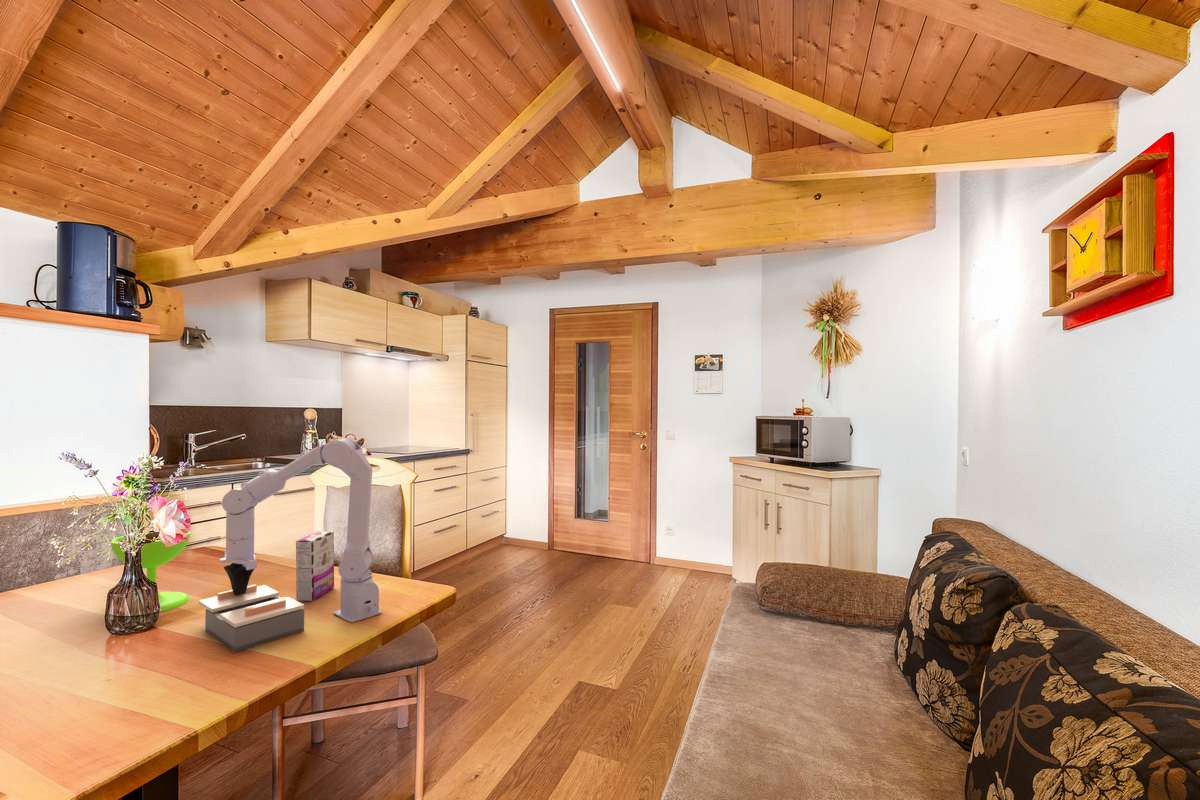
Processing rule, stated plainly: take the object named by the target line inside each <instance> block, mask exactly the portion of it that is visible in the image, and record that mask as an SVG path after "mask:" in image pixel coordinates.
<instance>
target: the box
mask: <svg viewBox="0 0 1200 800" xmlns="http://www.w3.org/2000/svg"><path fill="white" fill-rule="evenodd" d="M279 598H281V597H280V596H275V597H271V598H267V599H263V600H259V601H256V602H252V603H248V604H244V605H240V606H236V607H232V608H228V609H224V610H220V611H216V612H210V611H209V610H207V609H206V608H205V619H204V620H205V621H204V622H205V623H204V624H205V626H204V627H205V628H204V629H205V630H204V631H205V632H206V633H207V634H208V635H210V636H211V637H212V638H214V639H215V640H216V641H218V642H219V643H221V644H222V645H223V646H225V647H226V648H227V649H229V650H230V651H231V652H233V653H234V654H236V653H239V652H243V651H245V650H249V649H252V648H255V647H259V646H261V645H264V644H267V643H270V642H274V641H277V640H280V639H283V638H287V637H289V636H292V635H296V634H300V633H303V632H305V608H303V609H299V610H296V611H292V612H289V613H285V614H281V615H278V616H274V617H271V618H267V619H264V620H260V621H257V622H253V623H250V624H246V625H243V626H239V627H233V626H232V625H230V624H229V623H227V622H226V621H224V620H223V619H221V618H220V614H222V613H225V612H229V611H233V610H237V609H241V608H245V607H249V606H252V605H256V604H260V603H264V602H268V601H272V600H276V599H279Z"/></svg>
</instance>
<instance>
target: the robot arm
mask: <svg viewBox="0 0 1200 800" xmlns="http://www.w3.org/2000/svg"><path fill="white" fill-rule="evenodd" d="M325 464H328V466H332V467H334V468H336V469H339V470H341V471H342V472H343V473H344V474H345V475H347V476H348V477H349V478H350V482H349V483H350V484H349V498H348V499H349V500H348V512H347V513H348V514H347V515H348V516H347V533H346V543H345V546H344V549H343V556H342V559H341V561H340V563H339V564H338V574H339V576H340V602H339V603H340V604H339V605H340V609H338V610H334V611H333V612H332V613H333V614H334V615H335V616H337V617H340V618H341V619H343V620H345V621H347V622H350V623H355V622H358V621H361V620H364V619H367V618H371V617H373V616H376V615H380V614H383V610H381V609H380V604H379V603H380V599H379V598H380V588H379V586H378V585H377V584H376V583H375V582H374V580H373V572H372V570H371V569H370V567H371V566H372V564H373V562H374V554H373V552H372V549H371V541H370V538H369V532H370V518H371V517H370V514H371V498H372V496H371V495H372V483H373V468H372V465H371V464H370V462H369V461H368V459H367V457H366V455H365V454H364V452H363V449H362V446H361V445H359V444H358V443H357V442H355V441H354V440H352V439H351V438H347V437H343V438H339V439H334V440H333V439H332V440H330V441H328V442H327V443H325V444H322V445H319V446H317V447H315V448H312V449H310V450H309V451H308V452H305V453H304V454H302V455H301V456H299V457H297V458H296V459H294V460H293V461H292V462H289V463H288V464H286V465H285V466H283V467H282V468H280V469H279V470H277V469H270V468H269V469H268V470H266V469H264V470H261V471H259V472H258V476H256V477H254V478H252V479H251V480H248V481H243V482H241V483H240V487H239V488H233V489H230V490H229V491H228V492H226V494H224V495H223V497H222V501H221V505H222V509H223V511H225V513H226V514H225V515H226V517H225V518H226V520H225V551H224V552H223V553H224V554H223V555H224V557H223V558H220V559H219V562H220V563H221V564H224V563H230V564H228V565H225V566H223V569H224V571H225V573H226V574H227V576H228V578H229V582H230V585H231V590H233V593H234V595H236V596H237V595H241V594H245V593H246V590H247V586H249V582H250V579H251V576H252V574H253V572H254V571H255V569H257V563H258V562H257V561H258V560H257V559H256V553H255V508H256V506H257V505H258V504H260V503H261V502H263V501H265V500H267V499H268V498H270V497H271V496H274V495H275V494H277V493H278V492H280V491H282V490H283V489H284V488H285V487H286V483H287V481H288V480H290V479H291V478H294V477H295V476H298V475H299V474H301V473H303V472H304V471H306V470H308V469H309V468H310V469H311V468H312V467H314V466H315V465H316V466H318V465H320V466H321V465H322V466H323V465H325Z"/></svg>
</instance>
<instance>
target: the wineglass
mask: <svg viewBox="0 0 1200 800" xmlns="http://www.w3.org/2000/svg"><path fill="white" fill-rule="evenodd" d="M188 531H189V532H188V535H187V539H186V540H185V541H181V542H179V543H178V544H176V545H174V546H171V547H166V546H165V544H164V543H163V542H161V541H155V542H151V543H149V544H146V545H145V546H144V547H143V548H142V550H141V554H142V562H141V564H142V568H141V569H146V579H147V578H148V579H149V580H150V581H153V582H155V583H156V584H157V568H158V567H161V566H163V565H165V564H167V563H169V562H171V561H172V560H174V559H175V558H177V557H178V556H179V555H180V554H181V553H182V552H183V551H184V550H185V548H186V547H187V545H188V543H189V539H190V534H191V533H190V532H191V531H190V530H188ZM124 536H125V535H122V536H119V537H115V538H113V539H112V540H111V541H110V544H111V550H112V552H113V554H114V556H115V557H116V559H118V560H120V561H121V562H122V563H123V564H125V554H124V552H123V551H122V550H121V548H120V545H119V544H118V543H117V542H116V540H123V539H124ZM158 597H159V601H160V609H161V612H160V613H162V612H166V611H169V610H172V609H176V608H178V607H181V606H183V605H184V604H186V603H188V602H189V601H190V597H189V595H188V594H186V593H185V592H181V591H161V592H158Z"/></svg>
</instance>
